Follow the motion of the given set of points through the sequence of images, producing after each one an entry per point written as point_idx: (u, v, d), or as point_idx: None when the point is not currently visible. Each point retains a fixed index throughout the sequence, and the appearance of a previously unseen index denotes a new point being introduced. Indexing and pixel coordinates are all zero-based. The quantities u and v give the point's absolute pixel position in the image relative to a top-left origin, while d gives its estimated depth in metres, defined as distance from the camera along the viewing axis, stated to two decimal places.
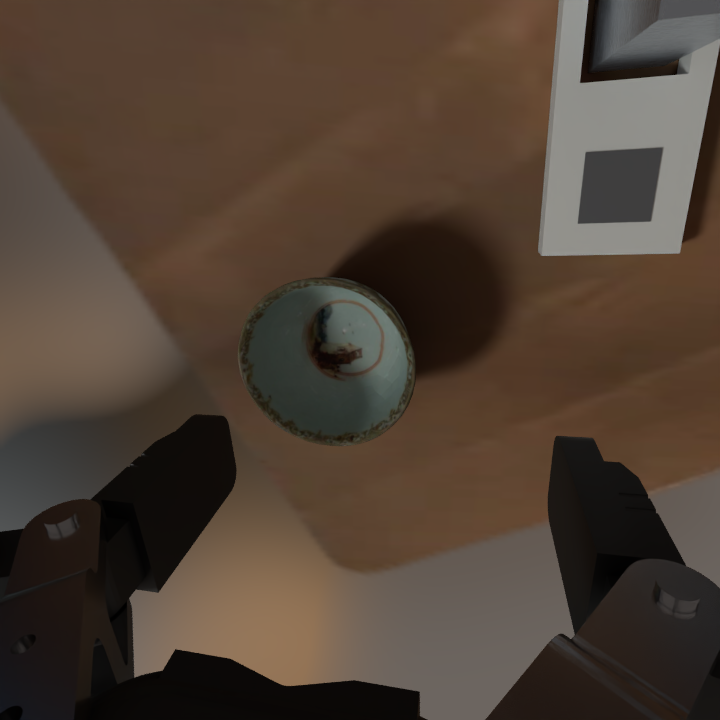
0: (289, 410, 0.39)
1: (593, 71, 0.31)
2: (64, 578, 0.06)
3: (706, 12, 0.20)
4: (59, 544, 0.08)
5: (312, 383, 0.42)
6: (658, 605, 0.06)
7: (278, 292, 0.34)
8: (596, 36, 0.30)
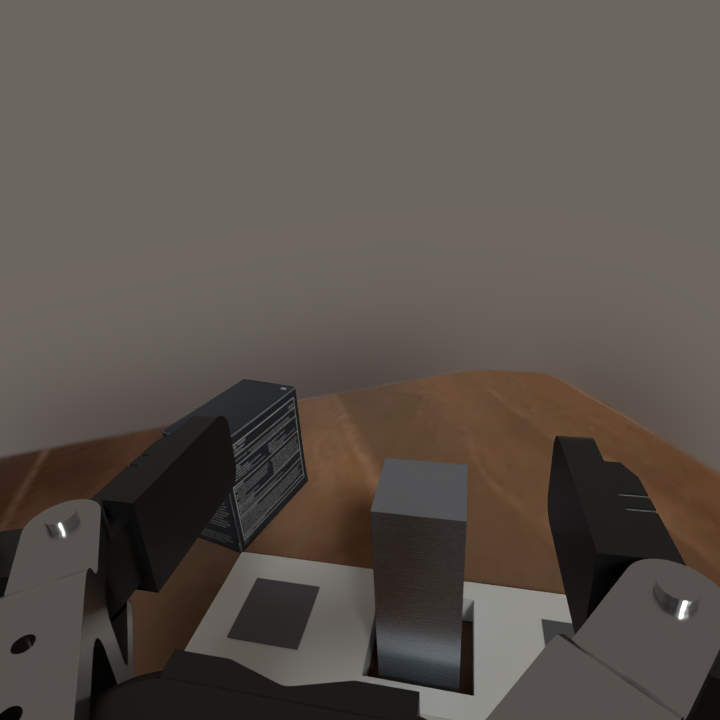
0: None
1: (458, 692, 0.27)
2: (64, 578, 0.06)
3: (465, 496, 0.24)
4: (59, 544, 0.08)
5: None
6: (658, 606, 0.06)
7: None
8: (427, 679, 0.27)
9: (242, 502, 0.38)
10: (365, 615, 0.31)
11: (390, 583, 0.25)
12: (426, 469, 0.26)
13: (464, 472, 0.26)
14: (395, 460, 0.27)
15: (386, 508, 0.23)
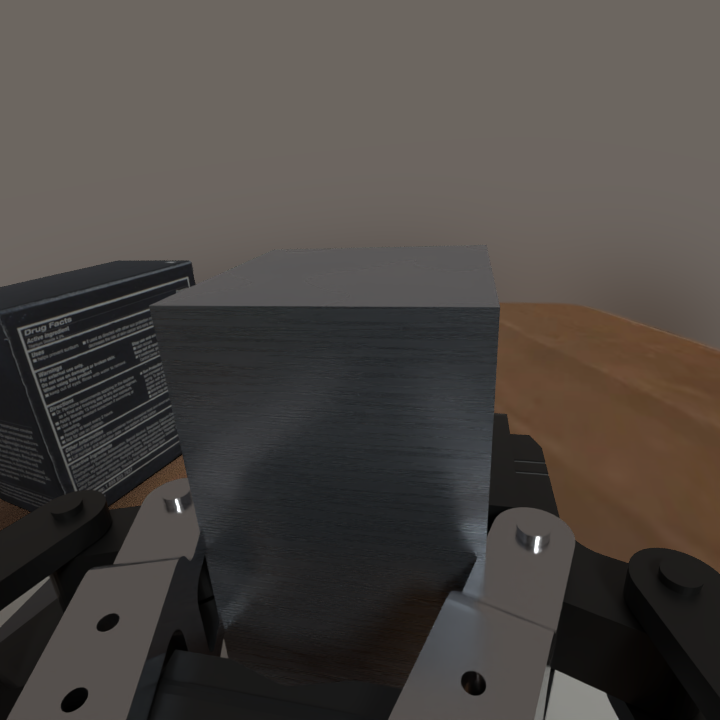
0: None
1: None
2: (158, 561, 0.07)
3: (487, 274, 0.07)
4: (169, 521, 0.08)
5: None
6: (514, 541, 0.07)
7: None
8: None
9: (70, 438, 0.21)
10: None
11: (255, 569, 0.08)
12: (373, 253, 0.09)
13: (479, 251, 0.09)
14: (296, 250, 0.10)
15: (211, 299, 0.07)
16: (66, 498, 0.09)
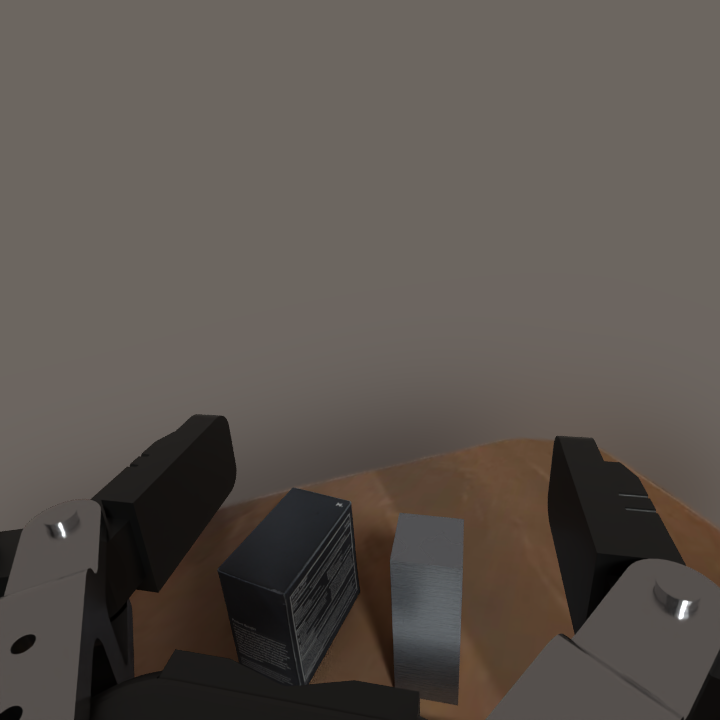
0: None
1: None
2: (64, 578, 0.06)
3: (462, 547, 0.32)
4: (59, 544, 0.08)
5: None
6: (658, 606, 0.06)
7: None
8: (433, 687, 0.35)
9: (303, 644, 0.35)
10: None
11: (405, 613, 0.32)
12: (431, 523, 0.34)
13: (461, 526, 0.33)
14: (407, 514, 0.35)
15: (402, 557, 0.31)
16: None
